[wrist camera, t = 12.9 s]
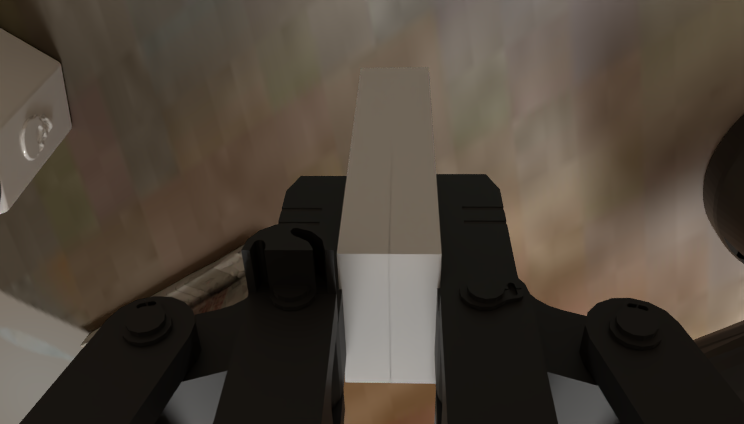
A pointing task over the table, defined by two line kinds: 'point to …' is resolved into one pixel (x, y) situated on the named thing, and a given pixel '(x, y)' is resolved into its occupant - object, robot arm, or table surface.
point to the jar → (28, 114)
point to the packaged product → (209, 286)
